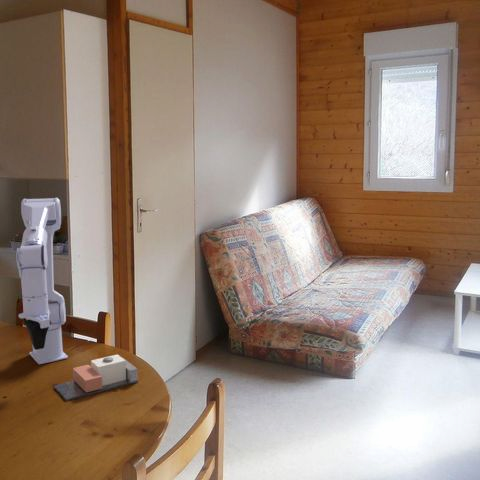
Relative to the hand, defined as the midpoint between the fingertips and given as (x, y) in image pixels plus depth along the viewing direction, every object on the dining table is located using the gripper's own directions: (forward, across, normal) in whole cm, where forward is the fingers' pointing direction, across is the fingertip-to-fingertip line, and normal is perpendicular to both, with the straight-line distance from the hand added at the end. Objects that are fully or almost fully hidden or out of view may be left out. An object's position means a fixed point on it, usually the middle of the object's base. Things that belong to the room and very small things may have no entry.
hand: (39, 348), depth 143 cm
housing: (+9, +8, +14) cm, 19 cm away
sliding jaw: (+9, +8, +9) cm, 15 cm away
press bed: (+9, +8, +11) cm, 17 cm away
